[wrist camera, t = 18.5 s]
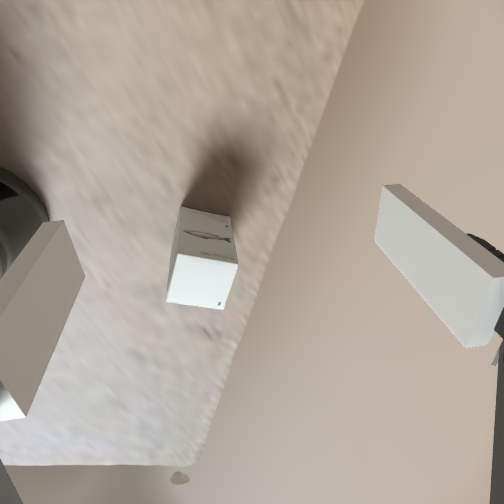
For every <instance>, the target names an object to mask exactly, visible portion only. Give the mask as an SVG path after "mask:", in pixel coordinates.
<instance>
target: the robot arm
mask: <svg viewBox="0 0 504 504" xmlns="http://www.w3.org/2000/svg"><path fill="white" fill-rule="evenodd" d="M374 242H375V243H376V244H377V245H378V246H379V247H380V248H381V250H382V251H383V252H384V253H385V254H386V256H387V257H388V258H389V259H390V260H391V262H392V263H393V264H394V265H395V266H396V267H397V269H398V270H399V271H400V272H401V273H402V274H403V276H404V277H405V278H406V279H407V280H408V281H409V283H410V284H411V285H412V286H413V287H414V288H415V290H416V291H417V292H418V293H419V294H420V296H421V297H422V298H423V299H424V300H425V302H426V303H427V304H428V305H429V306H430V307H431V309H432V310H433V311H434V312H435V313H436V314H437V316H438V317H439V318H440V319H441V320H442V321H443V323H444V324H445V325H446V326H447V327H448V329H449V330H450V331H451V332H452V333H453V334H454V336H455V337H456V338H457V339H458V340H459V341H460V342H461V344H462V345H463V346H464V347H465V348H470V347H477V346H483V345H488V344H489V341H490V339H491V337H492V335H493V332H494V330H495V331H496V332H497V333H498V334H499V335H500V336H501V337H502V338H503V341H502V343H501V345H500V347H499V350H498V352H497V354H496V356H495V358H494V360H493V362H492V365H495V366H496V364H497V362H498V361H499V362H498V378H497V394H496V395H497V396H496V410H495V411H496V412H495V426H494V442H493V443H494V444H493V459H492V460H493V461H492V476H491V492H490V504H504V254H503V253H502V252H500V251H499V250H496V248H495V247H493V246H492V245H490V244H489V243H488V242H487V241H485V240H483V239H481V238H479V237H476V236H474V235H472V234H465V233H464V232H463V231H461V230H460V229H459V228H457V227H456V226H455V225H453V224H452V223H451V222H450V221H448V220H447V219H445V218H444V217H443V216H442V215H440V214H439V213H438V212H436V211H435V210H434V209H432V208H431V207H430V206H428V205H427V204H426V203H424V202H423V201H422V200H420V199H419V198H418V197H416V196H415V195H414V194H412V193H411V192H410V191H408V190H407V189H406V188H404V187H403V186H402V185H401V184H394V185H384V186H383V187H382V193H381V200H380V206H379V212H378V218H377V225H376V232H375V238H374ZM84 278H85V275H84V272H83V269H82V267H81V264H80V262H79V259H78V256H77V254H76V251H75V249H74V246H73V243H72V241H71V238H70V236H69V233H68V230H67V228H66V225H65V223H64V220H60V221H51V222H49V220H48V216H47V213H46V210H45V208H44V206H43V204H42V202H41V201H40V199H39V198H38V196H37V195H36V194H35V192H34V191H33V190H32V189H31V188H30V187H29V186H28V185H27V184H26V183H24V182H23V181H22V180H21V179H19V178H18V177H16V176H15V175H13V174H12V173H10V172H8V171H6V170H4V169H2V168H0V421H6V420H12V419H18V418H25V417H26V416H27V413H28V411H29V409H30V406H31V404H32V402H33V399H34V397H35V394H36V392H37V390H38V387H39V385H40V383H41V380H42V378H43V375H44V373H45V371H46V368H47V366H48V363H49V361H50V359H51V356H52V354H53V352H54V349H55V347H56V344H57V342H58V340H59V337H60V335H61V333H62V330H63V328H64V325H65V323H66V321H67V318H68V316H69V314H70V311H71V309H72V306H73V304H74V302H75V299H76V297H77V295H78V292H79V290H80V287H81V285H82V283H83V280H84ZM0 504H23V502H22V500H21V499H20V497H19V494H18V493H17V491H16V489H15V487H14V485H13V483H12V481H11V479H10V477H9V475H8V473H7V471H6V469H5V467H4V465H3V463H2V461H1V459H0Z"/></svg>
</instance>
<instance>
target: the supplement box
mask: <svg viewBox="0 0 504 504" xmlns="http://www.w3.org/2000/svg"><path fill="white" fill-rule="evenodd" d="M237 268H238V259H237V253H236V248H235V242H234V237H233V232H232V226H231V220H230V217H229V216H223V215H217V214H212V213H207V212H203V211H199V210H194V209H190V208H186V207H182V206H181V207H180V212H179V217H178V221H177V226H176V230H175V235H174V240H173V244H172V250H171V257H170V266H169V276H168V285H167V293H166V299H165V301H166V302H169V303H178V304H185V305H192V306H198V307H207V308H214V309H221V310H224V308H225V305H226V302H227V298H228V295H229V292H230V289H231V286H232V283H233V280H234V277H235V274H236V271H237Z"/></svg>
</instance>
